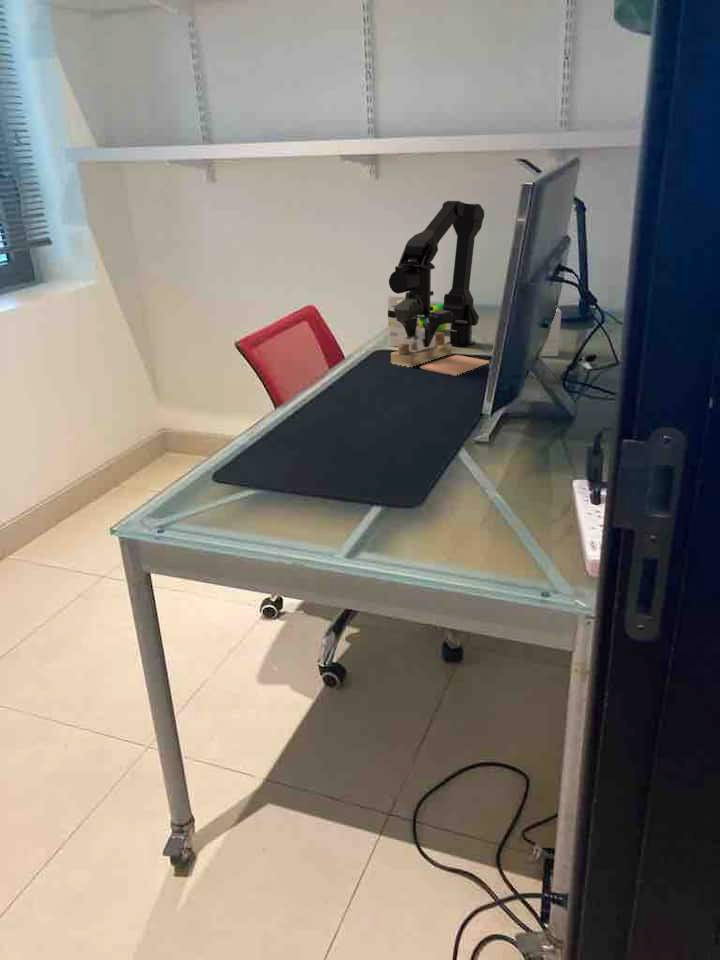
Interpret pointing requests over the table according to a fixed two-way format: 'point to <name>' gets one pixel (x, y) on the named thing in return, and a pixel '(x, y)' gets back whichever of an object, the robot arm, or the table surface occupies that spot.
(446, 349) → the hand plane
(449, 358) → the rubber mat
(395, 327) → the ink cartridge box
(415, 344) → the lever cap
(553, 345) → the supplement box
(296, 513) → the table surface
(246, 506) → the table surface
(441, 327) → the molecule model
